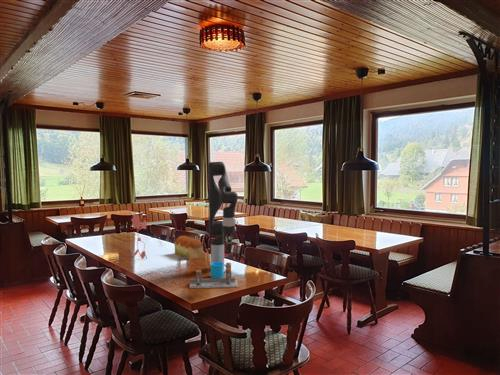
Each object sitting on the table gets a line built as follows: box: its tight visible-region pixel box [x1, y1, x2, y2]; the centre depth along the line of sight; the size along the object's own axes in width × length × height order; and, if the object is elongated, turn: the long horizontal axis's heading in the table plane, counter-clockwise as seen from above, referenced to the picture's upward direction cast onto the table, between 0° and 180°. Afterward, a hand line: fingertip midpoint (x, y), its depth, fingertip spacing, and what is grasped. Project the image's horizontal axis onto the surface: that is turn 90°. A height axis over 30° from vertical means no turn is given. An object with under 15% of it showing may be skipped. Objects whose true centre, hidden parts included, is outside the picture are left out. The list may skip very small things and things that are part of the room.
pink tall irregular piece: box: [126, 213, 148, 262], centre depth 292 cm, size 15×26×35 cm, turn 45°
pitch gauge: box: [189, 269, 239, 289], centre depth 227 cm, size 10×28×8 cm, turn 96°
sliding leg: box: [225, 262, 232, 282], centre depth 228 cm, size 8×3×10 cm, turn 6°
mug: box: [210, 262, 226, 278], centre depth 247 cm, size 12×8×8 cm
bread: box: [173, 235, 204, 260], centre depth 304 cm, size 25×12×15 cm, turn 38°
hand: (228, 251), depth 230 cm, fingers open, 8 cm apart
